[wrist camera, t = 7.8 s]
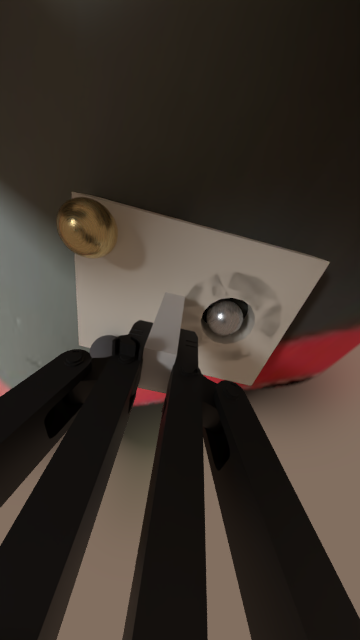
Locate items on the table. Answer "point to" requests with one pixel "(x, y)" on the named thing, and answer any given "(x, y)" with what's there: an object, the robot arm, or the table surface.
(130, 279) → the plate
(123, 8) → the table surface
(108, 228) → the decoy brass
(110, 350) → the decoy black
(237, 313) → the steel ball
